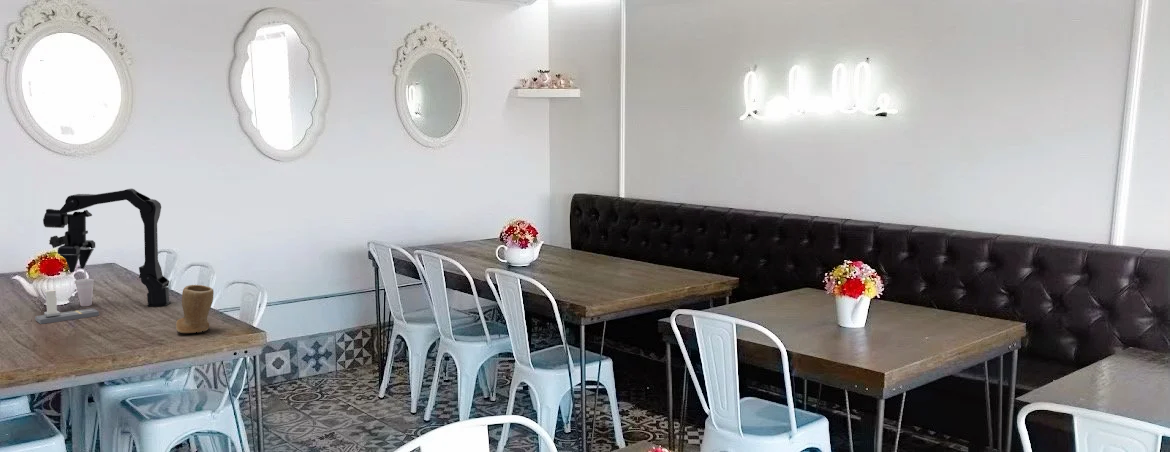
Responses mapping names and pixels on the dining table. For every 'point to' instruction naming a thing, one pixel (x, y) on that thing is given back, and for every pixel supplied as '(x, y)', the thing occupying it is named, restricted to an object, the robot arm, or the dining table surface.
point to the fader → (51, 303)
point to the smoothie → (85, 290)
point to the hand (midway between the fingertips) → (77, 270)
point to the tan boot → (195, 309)
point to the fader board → (67, 316)
